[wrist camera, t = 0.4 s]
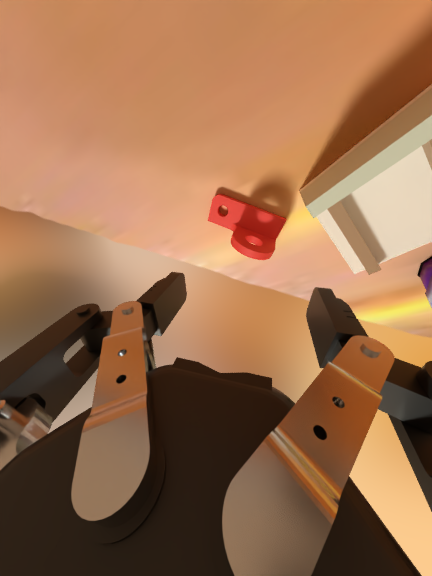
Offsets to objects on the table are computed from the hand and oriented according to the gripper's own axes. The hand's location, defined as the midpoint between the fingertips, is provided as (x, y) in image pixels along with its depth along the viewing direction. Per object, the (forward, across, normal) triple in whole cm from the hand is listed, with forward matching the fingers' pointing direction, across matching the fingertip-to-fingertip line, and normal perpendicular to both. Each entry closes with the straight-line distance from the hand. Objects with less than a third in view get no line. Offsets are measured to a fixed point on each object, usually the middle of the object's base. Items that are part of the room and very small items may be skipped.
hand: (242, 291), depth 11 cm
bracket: (+22, +2, 0) cm, 23 cm away
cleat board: (+21, -16, -4) cm, 26 cm away
